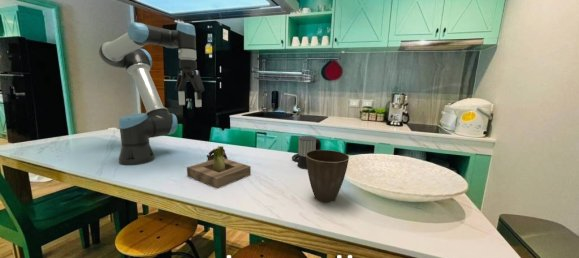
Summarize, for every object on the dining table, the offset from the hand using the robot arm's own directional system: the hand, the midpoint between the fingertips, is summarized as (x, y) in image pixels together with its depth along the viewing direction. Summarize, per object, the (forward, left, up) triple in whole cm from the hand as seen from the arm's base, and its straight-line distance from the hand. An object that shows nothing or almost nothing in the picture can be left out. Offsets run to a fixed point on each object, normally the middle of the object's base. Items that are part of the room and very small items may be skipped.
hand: (190, 105), depth 110 cm
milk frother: (+43, +35, -29) cm, 63 cm away
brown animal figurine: (+8, +10, -29) cm, 32 cm away
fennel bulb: (+23, -2, -28) cm, 36 cm away
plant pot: (+69, +8, -29) cm, 75 cm away
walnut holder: (+23, -2, -29) cm, 37 cm away
